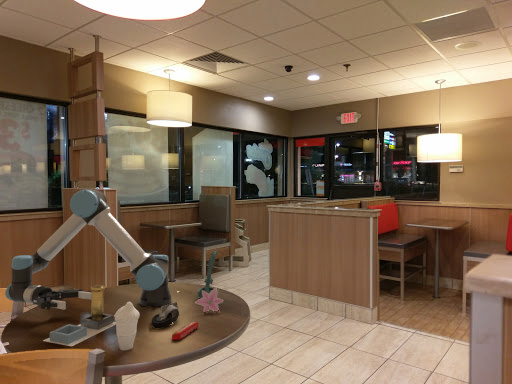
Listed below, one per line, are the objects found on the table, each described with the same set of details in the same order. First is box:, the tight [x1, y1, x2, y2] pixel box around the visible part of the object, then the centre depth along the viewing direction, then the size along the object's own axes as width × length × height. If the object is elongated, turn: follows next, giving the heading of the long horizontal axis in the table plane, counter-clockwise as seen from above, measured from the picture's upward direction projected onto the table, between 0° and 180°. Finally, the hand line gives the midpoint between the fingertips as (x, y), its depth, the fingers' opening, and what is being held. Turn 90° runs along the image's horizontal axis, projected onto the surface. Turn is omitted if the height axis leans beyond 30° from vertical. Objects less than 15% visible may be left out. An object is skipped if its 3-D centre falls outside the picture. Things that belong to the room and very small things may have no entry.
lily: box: [194, 287, 224, 313], centre depth 165 cm, size 12×12×10 cm
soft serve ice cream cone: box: [113, 301, 141, 351], centre depth 125 cm, size 8×8×16 cm
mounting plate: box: [42, 321, 116, 347], centre depth 137 cm, size 24×13×1 cm, turn 162°
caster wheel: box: [151, 301, 180, 329], centre depth 148 cm, size 7×11×10 cm
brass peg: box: [90, 284, 106, 321], centre depth 143 cm, size 5×5×15 cm
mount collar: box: [80, 313, 114, 330], centre depth 143 cm, size 8×8×3 cm
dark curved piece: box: [197, 250, 218, 298], centre depth 182 cm, size 14×10×25 cm
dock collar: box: [49, 323, 87, 344], centre depth 130 cm, size 8×8×3 cm
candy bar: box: [170, 321, 200, 341], centre depth 138 cm, size 16×4×3 cm, turn 160°
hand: (78, 300), depth 146 cm, fingers open, 13 cm apart
